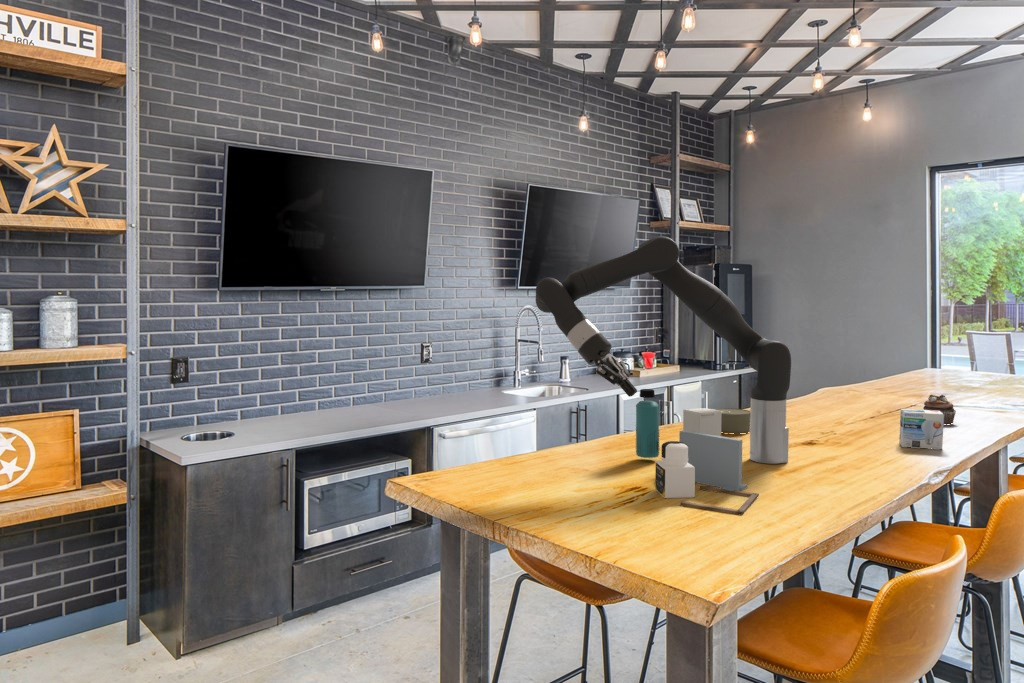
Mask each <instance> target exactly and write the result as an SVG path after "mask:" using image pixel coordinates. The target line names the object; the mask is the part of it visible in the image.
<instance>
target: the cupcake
mask: <svg viewBox="0 0 1024 683" xmlns="http://www.w3.org/2000/svg"><path fill="white" fill-rule="evenodd" d="M927 399H928V400H925V401H924V403H923V404H924V406H923V409H922V410H937V411H940V412H942V413H943V414H944V424H951V423H953V424H954V419H955V416H956V412H957V410H956V409H955V408H954V404H953V403H952V402H951V401H949V400H948V399H947V397H946V395H943V394H940V395H938V396H937V395H934V394H930V395H929V396H928V398H927Z"/></svg>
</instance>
